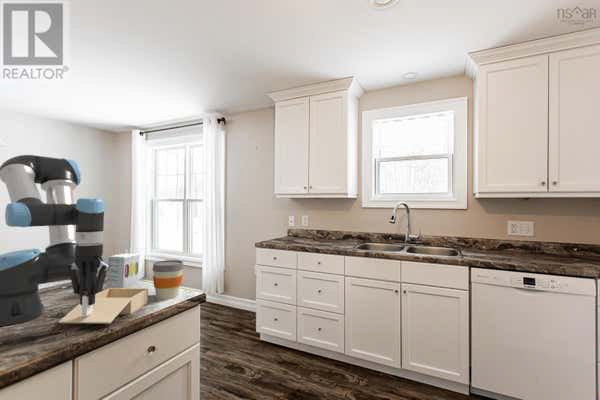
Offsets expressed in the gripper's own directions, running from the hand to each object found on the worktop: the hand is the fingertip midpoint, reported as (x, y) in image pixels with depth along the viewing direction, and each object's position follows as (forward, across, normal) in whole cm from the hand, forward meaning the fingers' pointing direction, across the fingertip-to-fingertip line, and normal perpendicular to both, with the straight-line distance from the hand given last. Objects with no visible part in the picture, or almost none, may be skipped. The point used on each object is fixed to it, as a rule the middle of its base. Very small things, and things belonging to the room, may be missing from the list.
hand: (87, 314), depth 92 cm
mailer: (+4, +1, +16) cm, 16 cm away
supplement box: (+4, -11, +38) cm, 39 cm away
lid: (0, +1, +3) cm, 4 cm away
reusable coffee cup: (+4, +13, +30) cm, 33 cm away
